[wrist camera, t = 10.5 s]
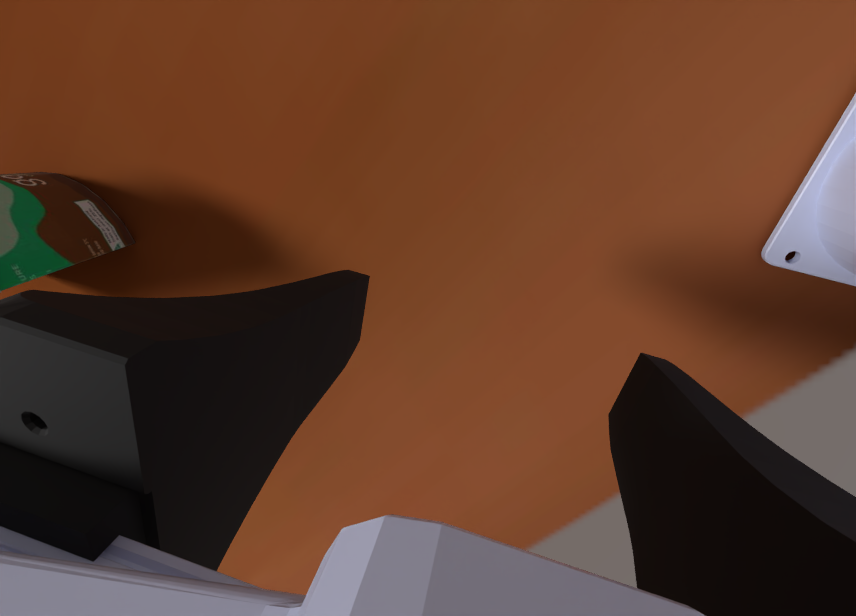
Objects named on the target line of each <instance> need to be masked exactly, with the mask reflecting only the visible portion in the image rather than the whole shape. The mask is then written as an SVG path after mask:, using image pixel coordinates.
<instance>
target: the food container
mask: <svg viewBox="0 0 856 616" xmlns="http://www.w3.org/2000/svg"><path fill="white" fill-rule="evenodd" d="M134 243H135V241H134V240H133V238H132V236H131V235H130V233H129V231H128V229H127V228H126V226H125V224H124V223H123V222H122V221H121V220H120V218H119V217H118V216H117V215H116V214H115V213H114V211H113V210H112V209H111V208H110V207H109V206H108V204H107V203H106V202H105V201H104V200H102V199H101V198H100V197H99V196H97V195H96V194H95V193H93V192H92V191H91V190H89V189H88V188H87V187H85V186H84V185H83V184H81V183H79V182H77V181H74V180H72V179H70V178H67V177H65V176H63V175H60V174H57V173H46V172H35V173H18V174H1V175H0V292H1V291H2V290H5V289H7V288H10V287H13V286H16V285H19V284H22V283H24V282H27V281H30V280H33V279H36V278H38V277H41V276H44V275H47V274H50V273H53V272H55V271H58V270H61V269H64V268H67V267H70V266H72V265H75V264H78V263H81V262H84V261H86V260H89V259H92V258H95V257H98V256H101V255H103V254H106V253H109V252H112V251H115V250H117V249H120V248H123V247H126V246H129V245H132V244H134Z"/></svg>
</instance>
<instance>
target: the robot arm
mask: <svg viewBox="0 0 856 616" xmlns="http://www.w3.org/2000/svg"><path fill="white" fill-rule="evenodd" d="M792 251H795V256H794V257H793V258H792V259H790V260H788V261H787V260H785V257H786V255H787V254H788V253H789V252H792ZM761 255H762V258H763V260H764V261H766V262H767V263H769V264H771V265H774V266H778V267H782V268H785V269H789V270H793V271H797V272H801V273H805V274H809V275H813V276H817V277H821V278H825V279H829V280H833V281H837V282H841V283H845V284H849V285H853V286H856V93H855V95H854V97H853V98H852V100H851V102H850V103H849V105H848V107H847V108H846V110H845V112H844V113H843V115H842V117H841V118H840V120H839V122H838V123H837V125H836V127H835V128H834V130H833V132H832V133H831V135H830V137H829V139H828V140H827V142H826V144H825V145H824V147H823V149H822V150H821V152H820V154H819V155H818V157H817V159H816V160H815V162H814V164H813V165H812V167H811V169H810V170H809V172H808V174H807V175H806V177H805V179H804V180H803V182H802V184H801V185H800V187H799V189H798V190H797V192H796V194H795V195H794V197H793V199H792V200H791V202H790V204H789V205H788V207H787V209H786V210H785V212H784V214H783V215H782V217H781V219H780V221H779V222H778V224H777V226H776V227H775V229H774V231H773V232H772V234H771V236H770V237H769V239H768V241H767V242H766V244H765V246H764V247H763V249H762V252H761ZM369 277H370V276H368V275H365V274H361V273H358V272H354V271H350V270H342V271H337V272H333V273H328V274H324V275H321V276H317V277H313V278H309V279H305V280H301V281H297V282H293V283H289V284H284V285H279V286H275V287H270V288H265V289H260V290H255V291H249V292H242V293H234V294H225V295H216V296H200V297H180V298H129V297H107V296H93V295H81V294H70V293H59V292H48V291H39V290H28V291H24V292H21V293H18V294H15V295H13V296H10V297H7V298H4V299H2V300H0V616H856V497H855V496H853V495H851V494H850V493H848V492H847V491H845V490H843V489H841V488H840V487H839V486H837V485H835V484H834V483H832V482H830V481H829V480H827V479H826V478H824V477H823V476H821V475H820V474H818V473H817V472H815V471H814V470H812V469H811V468H809V467H808V466H806V465H805V464H803V463H802V462H800V461H799V460H797V459H796V458H794V457H793V456H791V455H790V454H789V453H787V452H785V451H784V450H783V449H781V448H780V447H779V446H777V445H776V444H775V443H773V442H772V441H770V440H769V439H768V438H767V437H765V436H764V435H763V434H761V433H760V432H758V431H757V430H756V429H755V428H753V427H752V426H751V425H749V424H748V423H747V422H746V421H744V420H743V419H742V418H740V417H739V416H738V415H737V414H735V413H734V412H733V411H732V410H730V409H729V408H728V407H727V406H725V405H724V404H723V403H722V402H721V401H719V400H718V399H717V398H716V397H714V396H713V395H712V394H711V393H710V392H708V391H707V390H706V389H705V388H703V387H702V386H701V385H700V384H699V383H697V382H696V381H695V380H694V379H692V378H691V377H690V376H689V375H687V374H686V373H685V372H683V371H682V370H681V369H679V368H678V367H677V366H675V365H674V364H672V363H670V362H669V361H667V360H665V359H661V358H658V357H654V356H651V355H647V354H644V353H640V355H639V357H638V359H637V361H636V363H635V365H634V367H633V369H632V370H631V372H630V374H629V376H628V378H627V380H626V382H625V384H624V386H623V388H622V390H621V392H620V394H619V395H618V397H617V399H616V401H615V403H614V405H613V407H612V409H611V411H610V413H609V435H610V447H611V453H612V458H613V462H614V467H615V471H616V476H617V480H618V485H619V489H620V493H621V498H622V502H623V506H624V511H625V515H626V518H627V523H628V528H629V532H630V538H631V543H632V549H633V556H634V564H635V573H636V581H637V588H634V587H632V586H629V585H626V584H623V583H620V582H617V581H614V580H611V579H608V578H605V577H602V576H599V575H596V574H593V573H590V572H588V571H584V570H582V569H579V568H576V567H573V566H570V565H567V564H564V563H561V562H558V561H555V560H552V559H549V558H546V557H543V556H540V555H537V554H535V553H532V552H529V551H526V550H523V549H520V548H517V547H514V546H511V545H508V544H505V543H502V542H499V541H496V540H493V539H490V538H487V537H485V536H482V535H479V534H476V533H473V532H470V531H467V530H464V529H461V528H458V527H455V526H452V525H449V524H446V523H443V522H439V521H433V520H426V519H419V518H413V517H406V516H400V515H393V514H391V515H386V516H382V517H379V518H375V519H372V520H369V521H365V522H362V523H358V524H355V525H352V526H348V527H345V528H342V530H341V531H340V533H339V534H338V536H337V537H336V539H335V540H334V542H333V544H332V545H331V547H330V548H329V550H328V551H327V553H326V554H325V556H324V558H323V560H322V562H321V565H320V567H319V569H318V571H317V573H316V575H315V578H314V580H313V582H312V584H311V586H310V588H309V590H308V593H307V595H301V594H294V593H287V592H281V591H274V590H267V589H262V588H259V587H257V586H254V585H251V584H249V583H246V582H243V581H241V580H238V579H235V578H233V577H230V576H227V575H225V574H222V573H219V572H217V569H218V567H219V565H220V563H221V561H222V559H223V557H224V555H225V554H226V552H227V550H228V548H229V546H230V544H231V542H232V541H233V539H234V537H235V535H236V533H237V531H238V530H239V528H240V526H241V524H242V522H243V520H244V519H245V517H246V515H247V513H248V511H249V509H250V508H251V506H252V504H253V502H254V501H255V499H256V497H257V495H258V494H259V492H260V490H261V488H262V487H263V485H264V483H265V481H266V480H267V478H268V476H269V475H270V473H271V471H272V469H273V468H274V466H275V464H276V463H277V461H278V459H279V458H280V456H281V455H282V453H283V451H284V450H285V448H286V446H287V445H288V443H289V441H290V440H291V438H292V437H293V435H294V434H295V432H296V431H297V429H298V428H299V427H300V425H301V424H302V422H303V421H304V420H305V419H306V417H307V416H308V415H309V413H310V412H311V411H312V410H313V408H314V407H315V406H316V404H317V403H318V402H319V400H320V399H321V398H322V397H323V395H324V394H325V393H326V391H327V390H328V389H329V388H330V386H331V385H332V384H333V382H334V381H335V380H336V378H337V377H338V376H339V374H340V373H341V372H342V370H343V369H344V368H345V366H346V364H347V363H348V361H349V359H350V357H351V356H352V354H353V352H354V350H355V348H356V346H357V344H358V343H359V341H360V336H361V329H362V323H363V316H364V309H365V303H366V296H367V290H368V283H369Z"/></svg>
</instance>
